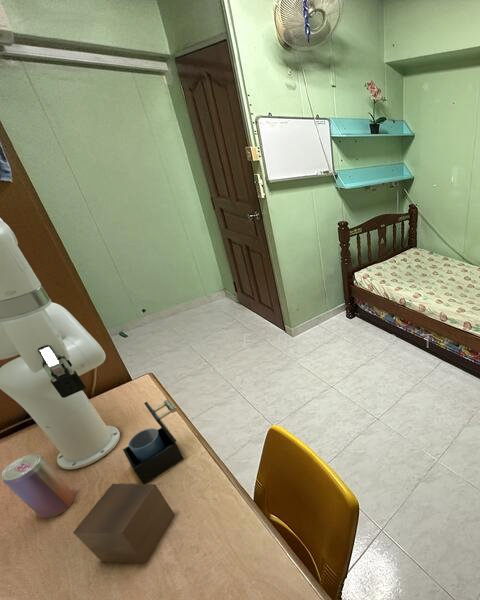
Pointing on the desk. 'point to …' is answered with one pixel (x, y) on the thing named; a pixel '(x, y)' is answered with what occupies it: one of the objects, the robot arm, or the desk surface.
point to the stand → (126, 523)
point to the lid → (163, 415)
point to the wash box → (155, 460)
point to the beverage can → (38, 485)
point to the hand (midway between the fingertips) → (67, 380)
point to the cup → (146, 444)
